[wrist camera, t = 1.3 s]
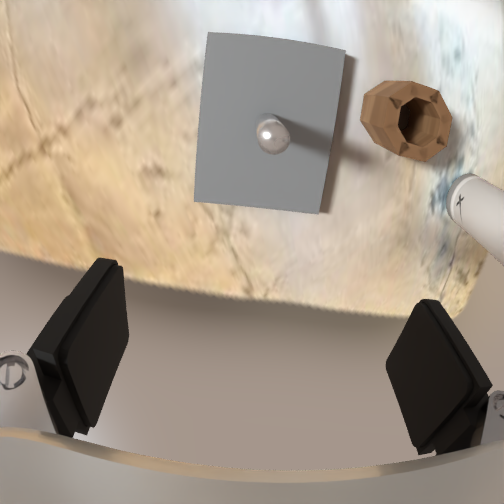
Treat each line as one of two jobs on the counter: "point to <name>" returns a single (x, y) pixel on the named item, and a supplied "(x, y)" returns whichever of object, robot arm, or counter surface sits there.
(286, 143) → the metal rod
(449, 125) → the walnut bead
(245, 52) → the rod board
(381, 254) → the counter surface
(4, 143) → the counter surface
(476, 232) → the travel mug
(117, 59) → the counter surface
